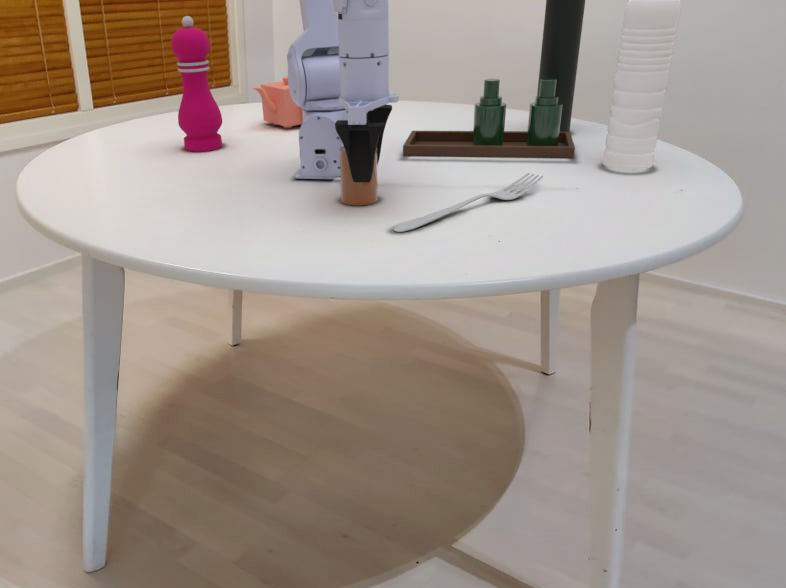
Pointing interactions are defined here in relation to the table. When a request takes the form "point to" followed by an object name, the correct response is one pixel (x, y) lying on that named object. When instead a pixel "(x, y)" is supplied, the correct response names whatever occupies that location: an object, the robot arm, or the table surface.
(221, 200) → the table surface
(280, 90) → the teapot
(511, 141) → the tray
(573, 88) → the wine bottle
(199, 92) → the pepper mill
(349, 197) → the amber bottle
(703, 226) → the table surface
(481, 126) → the green bottle
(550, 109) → the green bottle
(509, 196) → the fork
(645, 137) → the water bottle
